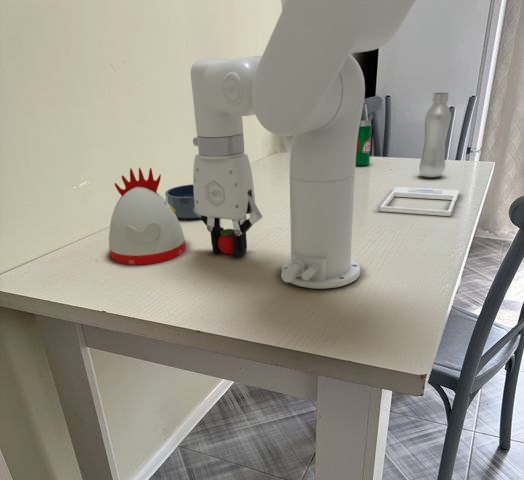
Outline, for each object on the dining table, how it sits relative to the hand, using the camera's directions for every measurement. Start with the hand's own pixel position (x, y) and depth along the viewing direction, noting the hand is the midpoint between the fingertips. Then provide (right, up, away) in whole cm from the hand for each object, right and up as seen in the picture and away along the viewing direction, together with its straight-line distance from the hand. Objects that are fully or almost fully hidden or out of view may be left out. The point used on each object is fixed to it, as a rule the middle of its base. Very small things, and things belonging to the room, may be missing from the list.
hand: (229, 251), depth 93 cm
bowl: (-9, +14, +24) cm, 29 cm away
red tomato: (0, 0, 0) cm, 0 cm away
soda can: (+35, +37, +60) cm, 79 cm away
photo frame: (+42, +15, +22) cm, 50 cm away
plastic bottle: (+51, +28, +43) cm, 72 cm away
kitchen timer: (-15, +1, +3) cm, 16 cm away
